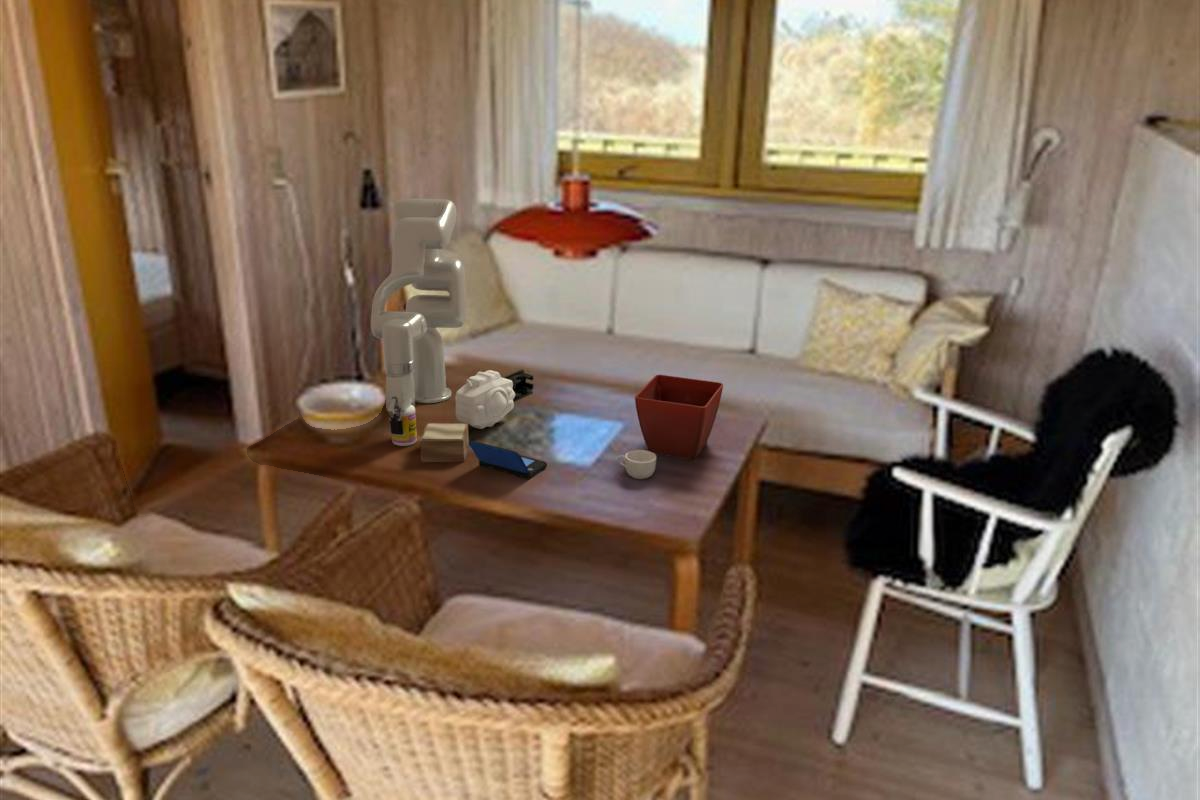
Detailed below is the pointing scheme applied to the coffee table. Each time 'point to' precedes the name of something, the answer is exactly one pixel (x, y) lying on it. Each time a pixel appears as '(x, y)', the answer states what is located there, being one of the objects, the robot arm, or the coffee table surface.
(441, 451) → the pale wooden block
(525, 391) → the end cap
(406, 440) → the supplement bottle
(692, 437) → the plant pot
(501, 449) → the handheld game console
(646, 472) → the teacup
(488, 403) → the camera
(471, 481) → the coffee table surface
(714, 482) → the coffee table surface
